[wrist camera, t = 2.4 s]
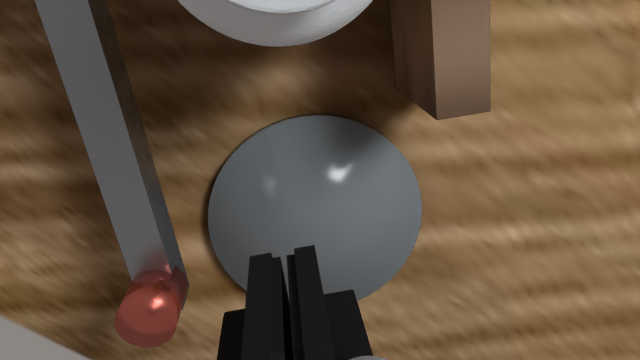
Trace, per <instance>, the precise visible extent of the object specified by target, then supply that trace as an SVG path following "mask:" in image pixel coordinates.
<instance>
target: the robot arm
mask: <svg viewBox="0 0 640 360" xmlns="http://www.w3.org/2000/svg"><path fill="white" fill-rule="evenodd" d="M287 271H288V287H289V297H288V292H287V287H286V282H285V277H284V272H283V267H282V262H281V258H280V257H275V258H273V257H272V254H271V253H265V254H260V255H254V256H250V258H249V270H248V282H247V293H246V305H245V309H240V310H234V311H229V312H225V313H224V317H223V323H222V329H221V336H220V342H219V349H218V355H217V360H387V359H384V358H381V357H377V356H373V354H372V351H371V347H370V344H369V340H368V337H367V334H366V330H365V327H364V323H363V320H362V317H361V313H360V310H359V306H358V303H357V300H356V296H355V293H354V290H353V289H351V290H345V291H340V292H334V293H329V294H323V288H322V283H321V277H320V272H319V267H318V261H317V256H316V250H315V245H311V246H305V247H299V248H294V254H292V255H287Z"/></svg>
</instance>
